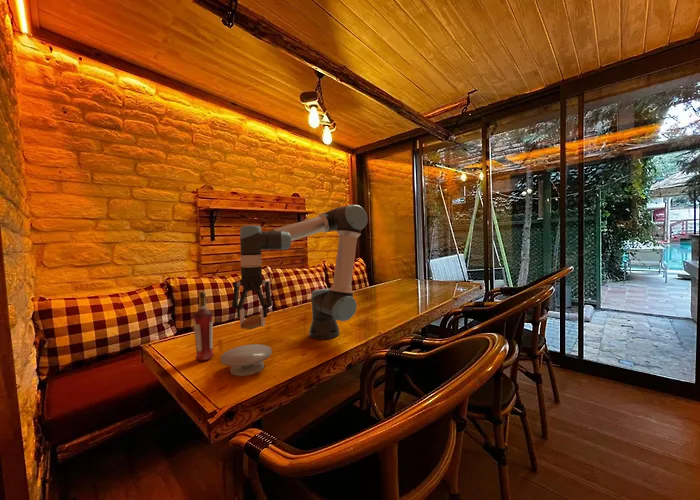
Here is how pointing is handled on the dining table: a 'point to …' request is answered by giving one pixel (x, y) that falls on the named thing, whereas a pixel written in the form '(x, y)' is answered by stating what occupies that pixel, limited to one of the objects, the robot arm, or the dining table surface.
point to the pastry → (251, 322)
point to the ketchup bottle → (203, 330)
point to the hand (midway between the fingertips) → (252, 325)
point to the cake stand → (246, 359)
